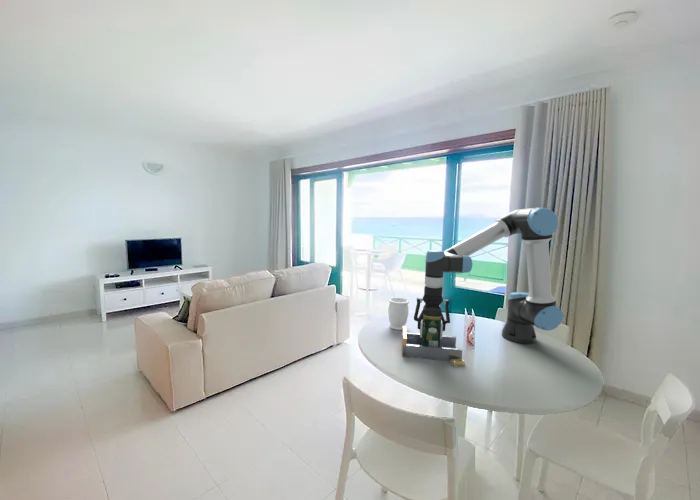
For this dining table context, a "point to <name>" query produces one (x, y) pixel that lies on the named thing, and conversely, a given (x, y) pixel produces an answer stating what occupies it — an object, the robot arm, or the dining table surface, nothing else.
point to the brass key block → (457, 362)
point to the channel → (429, 347)
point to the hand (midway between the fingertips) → (430, 336)
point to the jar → (398, 313)
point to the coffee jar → (431, 326)
